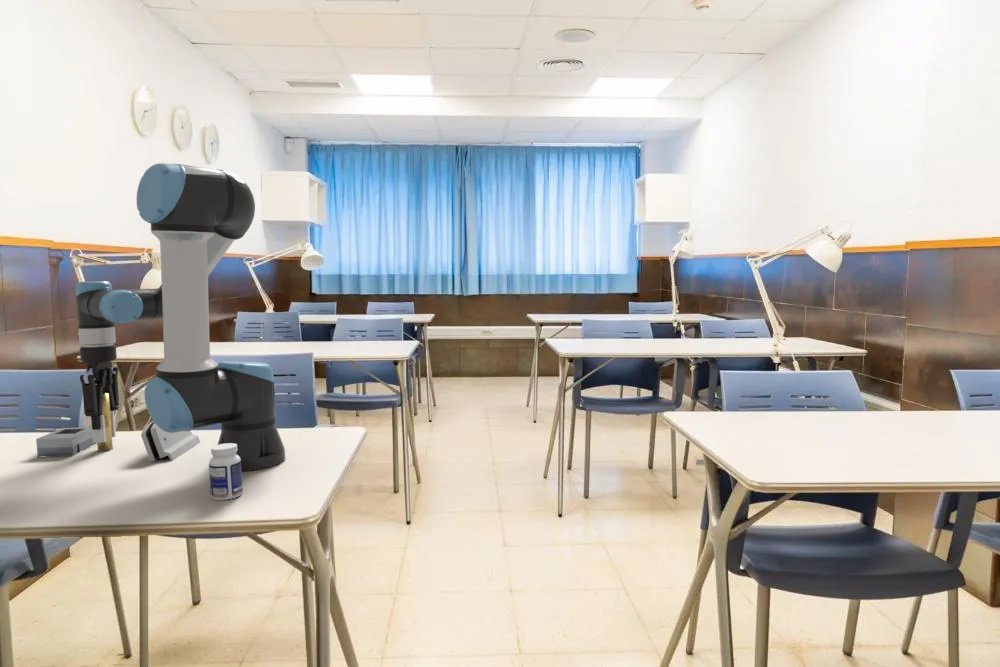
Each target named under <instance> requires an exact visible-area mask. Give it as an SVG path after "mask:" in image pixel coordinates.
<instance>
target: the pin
mask: <svg viewBox="0 0 1000 667" xmlns="http://www.w3.org/2000/svg"><path fill="white" fill-rule="evenodd" d="M102 415H104V418H105V432H106V442H97V444H96V447H97V452H99V451H103V452H109V451H108V450H110V451H112V450H114V446H113V445H114V444H113V437H112V430H111V415H110V401H109V393H103V399H102ZM111 449H112V450H111Z"/></svg>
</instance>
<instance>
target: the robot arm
mask: <svg viewBox="0 0 1000 667" xmlns="http://www.w3.org/2000/svg"><path fill="white" fill-rule="evenodd" d="M136 208H137V211H138V213H139V214H138V215H139V216H140V217H141V219H142V220H143V221H144V222H147V223H148V224H150V232H151V234H152V235H154V236H155V237H156V238H157V239H158V241H159V247H160V248H159V250H160V253H159V254H160V278H161V285H160V286H159V287H158V288H141V289H139V288H138V289H137V288H134V289H113V287H112V284H111V282H110V281H107V280H106V281H105V280H102V281H101V280H99V281H98V280H97V281H93V280H92V281H79V282H77V283H76V284H75V295H74V299H75V304H76V306H75V307H76V316H77V317H76V318H77V328H78V332H77V336H78V338H79V339H78V340H79V342H78V343H79V345H81V346H80V348H79V355H80V356H79V357H80V358H79V360H80V361H81V362H82V363H85V364H87V365H86V370H85V371H86V373H85V374H80V376H79V380H80V383H81V388H82V398H83V399H82V400H83V410H84V415H85V416H86V417H90V421H91V422H90V423H91V424H90V425H91V427H92V438H93V443H95V442H106V432H105V418H104V415H102V399H103V393H109V401H110V415H111V430H112V438H115V437H117V435H116V434H117V433H116V417H115V411H118V410H119V405H120V403H119V401H120V400H119V383H118V382H119V380H118V375H119V374H118V373H119V368H118V366H113V365H112V361H113V362H114V361H116V360H117V359H118V358H117V356H118V355H117V346H116V345H115V343H116V342H117V341H116V327H115V324H128V323H132V322H139V321H150V320H151V321H153V320H162V330H163V333H162V334H163V355H164V356H163V357H164V358H163V360H162V361H161V362H160V363H159V364H157V366H156V377H153V378H151V379H150V380H148V381H147V382H146V384H145V388H144V394H143V396H144V401H145V406H146V409H147V412H148V414H149V416H150V418H151V419H152V421H154V423H155V424H156V425H157V426H158V427H159V428H160V429H162V430H163V431H165V432H169V433H175V432H181V431H191V432H192V430H195V429H201V428H205V427H209V426H215V425H218V424H220V434H219V439H218V442H217V445H219V444H225V443H234V444H237V449H238V451H237V452H236V455H238V456H239V457H240V459H241V472H247V471H248V470H249V471H256V469H257V470H262V469H265V468H266V467H267V468H270V466H271V467H273V465H274V466H276V464H277V465H279V464H281V463H282V462H284V461H285V460H286V451H285V450H286V448H285V446H284V443H283V440H282V437H281V436H280V432H279V430H278V429H277V423H276V422H277V421H276V403H275V402H276V400H275V398H276V397H275V383H276V382H275V377H274V370H273V367H272V366H271V365H270V364H268V363H265V362H258V361H257V362H256V361H240V360H239V361H235V360H230V361H229V360H228V361H226V360H224V361H223V360H222V361H219V362H216V361H215V360H214V359H213V358H212V357H211V347H210V346H211V345H210V344H211V343H210V339H211V338H210V337H211V336H210V310H209V308H210V307H209V305H210V304H209V302H210V301H209V276H210V275H211V274H212V272H213V271H214V269H215V268H216V266H217V265H218V263H219V262H220V261H221V260H222V258H223V257H224V255H225V254H226V252H227V251H229V248H230V247H231V246H232V244H233V243H234V241H237V240H240V239H242V238H243V237H244V236H245V234H246V233H247V232H248V231H249V229H250V227H251V225H252V223H253V220H254V217H255V213H256V212H255V211H256V203H255V198H254V194H253V193H252V190H251V189H250V187H249V186H248V184H247V183H246V182H245V180H244V179H242V178H241V177H240V176H239V175H237V174H235V173H234V172H231V171H228V170H226V169H225V170H224V169H217V168H216V169H214V168H209V167H208V168H207V167H201V166H195V165H187V164H183V163H182V164H181V163H164V162H161V163H155V164H153V165H151V166H150V167H148V168H147V169H146V170H145V171H144V173H143V175H142V176H141V178H140V180H139V183H138V187H137V191H136ZM284 459H285V460H284ZM283 460H284V461H283ZM261 468H262V469H261Z"/></svg>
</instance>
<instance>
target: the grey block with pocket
mask: <svg viewBox="0 0 1000 667" xmlns="http://www.w3.org/2000/svg"><path fill="white" fill-rule="evenodd" d="M35 441H36V442H35V444H36V452H37V454H36V455H37V457H38V456H57V457H69V456H68V455H74V456H76V455H78V454H79V453H78V452H80V451H82V450H84V449H86V448H88V447H90V446H92V445H94V444H96V443H97V442H95V443H93V438H92V426H85V427H62V428H59V429H57V430H55V431H52V432H49V433H47V434H44V435H42V436H40V437H37V438H36V440H35ZM96 445H97V444H96ZM94 446H95V445H94ZM92 447H93V446H92ZM90 448H91V447H90ZM88 449H89V448H88ZM86 450H87V449H86ZM84 451H85V450H84ZM82 452H83V451H82ZM77 453H78V454H77ZM80 453H81V452H80ZM75 454H76V455H75Z"/></svg>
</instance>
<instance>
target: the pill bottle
mask: <svg viewBox="0 0 1000 667" xmlns="http://www.w3.org/2000/svg"><path fill="white" fill-rule="evenodd" d="M237 451H238V449H237V444H234V443H225V444H219V445H218V444H216V445H213V446H212V447H210V452H211V453H210V454H211V455H212V457H211V458H210V459H209V462H208V467H209V468H208V469H209V481H210V482H209V484H210V496H211V499H212V500H215V501H229V500H228V499H230V500H233V499H232V498H234V499H237V498H238V496H239V497H241V495H242V494H243V492H244V491H243V490H244V489H243V476H242V474H243V473H242V472H243V471H241V459H240V457H239V456H238V455H236V452H237ZM236 497H237V498H236Z"/></svg>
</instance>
